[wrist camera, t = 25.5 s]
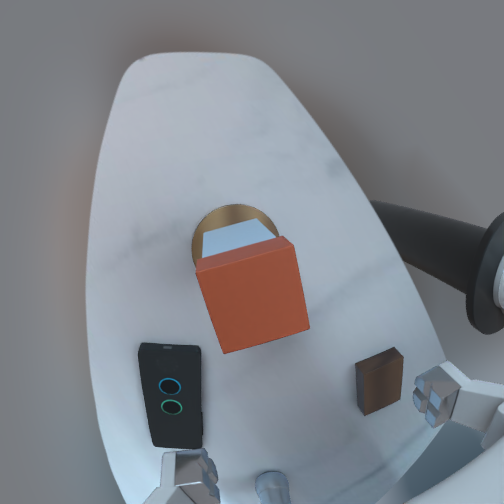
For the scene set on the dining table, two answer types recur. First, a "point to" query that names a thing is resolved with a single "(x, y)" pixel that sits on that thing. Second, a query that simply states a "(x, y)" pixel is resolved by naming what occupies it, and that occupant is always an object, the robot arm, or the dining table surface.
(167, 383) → the smart home device
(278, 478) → the plastic bottle
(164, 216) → the dining table surface
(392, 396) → the block
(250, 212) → the coaster
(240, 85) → the dining table surface
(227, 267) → the container
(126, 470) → the dining table surface
